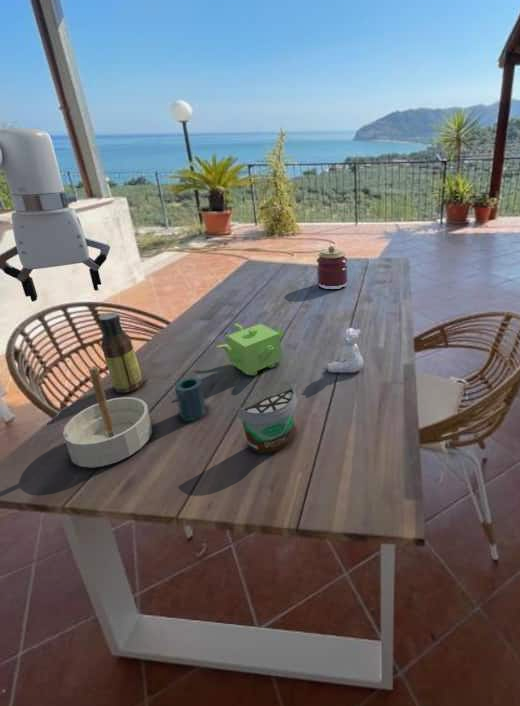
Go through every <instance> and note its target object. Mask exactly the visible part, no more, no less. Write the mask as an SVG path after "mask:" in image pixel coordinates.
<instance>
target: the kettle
mask: <svg viewBox="0 0 520 706" xmlns="http://www.w3.org/2000/svg"><path fill="white" fill-rule="evenodd" d="M234 326H235V328H236V330H237V331H236V332H233V333H231V334H228V335H226V340H227V343H222V344H219V345H217V346H216V348H219V349H223V350H224V351H225V353H226V355H227V357H228V358H229V363H230V364H232V365H233V366H234V367H236V368H237V369H238V370H240V371H241V372H243V373H244V374H245V375H247V376H251V377H252V376H256V375H258V371H260V370H262V369H265V368H269V369H271V368H275V366H276V363H278V362H280V361H282V360H283V355H282V343H281V339H282V337H283V336H284V335H285V334H286V332H285V331H284V330H283V329H281V328H278V329H277V330H274V329H272V328H271V327H269V326H267V325H264V324H263V323H259V324H256V325H253V326H251V327H248V328H247V327H246V328H245V329H244V328H243V326H242V324H240V323H239V322H236V323H234Z"/></svg>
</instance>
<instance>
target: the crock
mask: <svg viewBox="0 0 520 706" xmlns="http://www.w3.org/2000/svg"><path fill="white" fill-rule="evenodd" d="M174 385H175V386H174V390H175V396H176V401H177V405H178V406H177V407H178V411H179V416H180V418H181V420H182V421H184V422H188V423H189V422H190V423H191V422H195V421H198V420H201V418H203V417H204V416H205V415H206V412H207V411H206V403H205V402H206V401H205V396H204V389H203V385H202V380H201V379H200V378H199V377H193V376H191V377H186V378H183V379H181V380H179V381H178V382H176V384H174Z"/></svg>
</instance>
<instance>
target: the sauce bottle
mask: <svg viewBox="0 0 520 706" xmlns="http://www.w3.org/2000/svg"><path fill="white" fill-rule="evenodd" d="M120 320H121V317H120V314H119V313H117V312H109V313H108V312H107V313H104V314H102V315H100V316H98V321H99V324H100V325H101V328H102V333H103V338H102V340H101V343H100V345H101V348H102V352H103V357H104V359H105V363H106V367H107V370H108V372H109V376H110V379H111V382H112V385H113V387H114V390H115V391H116V392H117V393H119V394H120V393H121V394H127V393H131V392H133V391H135V390H138V389H139V388H141V386H142V385H143V379H142V377H143V376H142V373H141V369H140V366H139V363H138V359H137V355H136V351H135V348H134V346H133V343H132V340H131V336H130V335H129V334H128V333H127V332H125V330H123V327H122V325H121V321H120Z"/></svg>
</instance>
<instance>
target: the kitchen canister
mask: <svg viewBox="0 0 520 706" xmlns="http://www.w3.org/2000/svg"><path fill="white" fill-rule="evenodd" d="M345 256H346V253H345V252H344V251H342V250H341V249H337V248H335V246H334V245H330V246H329V247H328V249H323V250H322V251H320V252H319V253H318V257H317V258H316V262H317V267H316V269H317V284H318V283H319V284H321V285H325V286H339V285H343V284H345V283H346V282H347V283H348V265H347V261H348V258H347V257H345Z"/></svg>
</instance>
